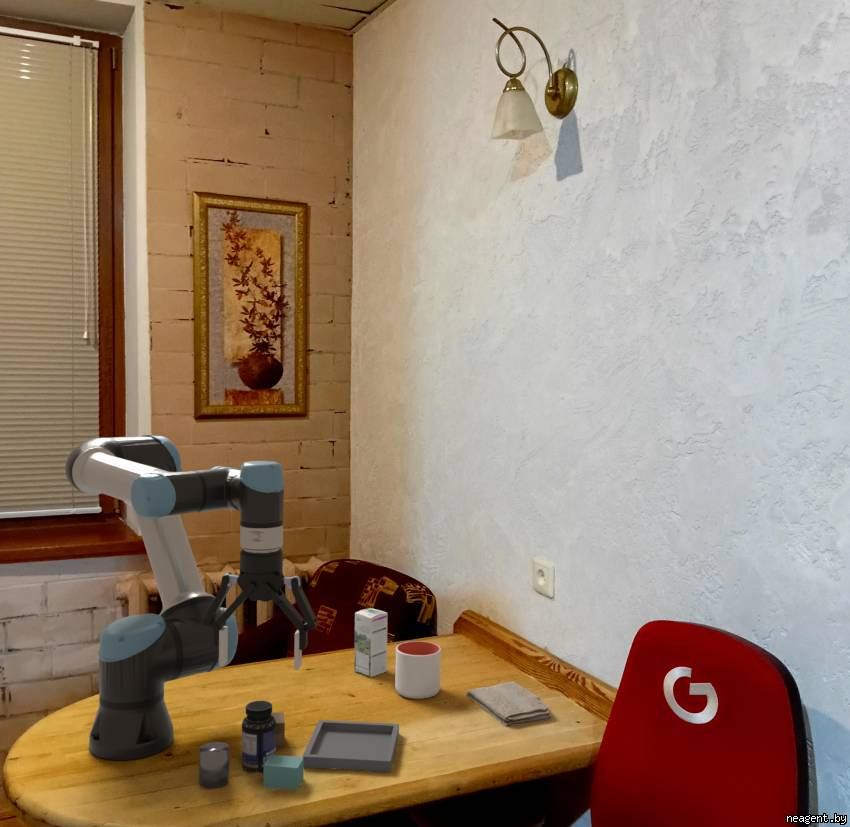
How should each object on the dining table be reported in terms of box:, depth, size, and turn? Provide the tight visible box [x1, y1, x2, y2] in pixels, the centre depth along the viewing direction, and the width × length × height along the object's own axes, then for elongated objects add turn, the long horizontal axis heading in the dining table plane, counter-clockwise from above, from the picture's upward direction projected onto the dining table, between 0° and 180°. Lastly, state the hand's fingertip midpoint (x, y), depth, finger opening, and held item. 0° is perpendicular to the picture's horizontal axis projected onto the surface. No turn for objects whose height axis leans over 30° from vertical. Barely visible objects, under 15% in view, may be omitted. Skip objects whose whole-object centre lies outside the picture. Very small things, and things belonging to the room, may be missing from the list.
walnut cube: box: [271, 711, 286, 750], centre depth 165 cm, size 5×5×5 cm
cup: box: [394, 640, 442, 700], centre depth 192 cm, size 10×10×10 cm
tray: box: [302, 719, 400, 773], centre depth 163 cm, size 16×16×2 cm
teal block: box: [262, 754, 305, 791], centre depth 149 cm, size 6×4×4 cm, turn 83°
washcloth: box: [465, 681, 553, 727], centre depth 185 cm, size 12×18×3 cm, turn 26°
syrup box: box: [353, 607, 388, 678], centre depth 203 cm, size 6×6×14 cm
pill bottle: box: [241, 700, 277, 773], centre depth 156 cm, size 6×6×11 cm
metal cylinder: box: [198, 741, 230, 790], centre depth 149 cm, size 5×5×6 cm
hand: (260, 665), depth 155 cm, fingers open, 13 cm apart
